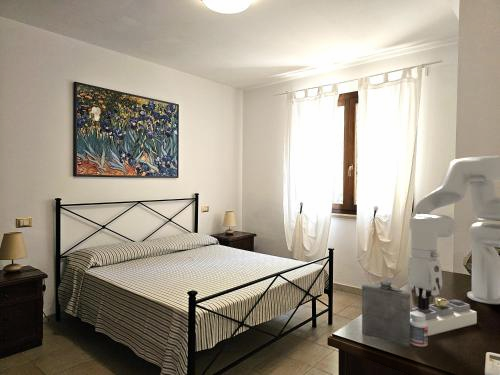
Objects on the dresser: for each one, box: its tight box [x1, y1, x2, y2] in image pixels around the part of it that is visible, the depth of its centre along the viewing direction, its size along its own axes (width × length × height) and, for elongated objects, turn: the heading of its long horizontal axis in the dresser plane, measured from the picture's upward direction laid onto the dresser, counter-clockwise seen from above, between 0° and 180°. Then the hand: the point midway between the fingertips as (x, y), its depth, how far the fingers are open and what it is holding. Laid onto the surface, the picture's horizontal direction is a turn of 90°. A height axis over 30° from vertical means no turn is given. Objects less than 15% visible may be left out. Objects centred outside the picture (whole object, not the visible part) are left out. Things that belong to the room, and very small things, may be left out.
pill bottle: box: [410, 311, 429, 348], centre depth 101 cm, size 5×5×9 cm
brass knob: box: [434, 297, 448, 309], centre depth 113 cm, size 4×4×3 cm
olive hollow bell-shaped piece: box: [410, 288, 435, 308], centre depth 123 cm, size 8×7×8 cm
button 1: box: [418, 308, 430, 314], centre depth 110 cm, size 4×4×3 cm
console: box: [410, 299, 478, 337], centre depth 113 cm, size 23×9×6 cm, turn 112°
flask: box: [361, 279, 411, 347], centre depth 103 cm, size 4×14×18 cm, turn 52°
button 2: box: [451, 299, 464, 306], centre depth 116 cm, size 4×4×3 cm
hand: (423, 308), depth 110 cm, fingers closed
